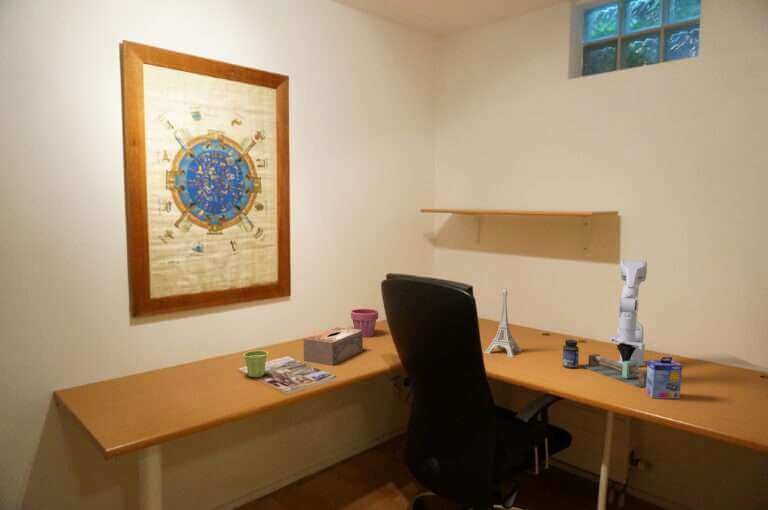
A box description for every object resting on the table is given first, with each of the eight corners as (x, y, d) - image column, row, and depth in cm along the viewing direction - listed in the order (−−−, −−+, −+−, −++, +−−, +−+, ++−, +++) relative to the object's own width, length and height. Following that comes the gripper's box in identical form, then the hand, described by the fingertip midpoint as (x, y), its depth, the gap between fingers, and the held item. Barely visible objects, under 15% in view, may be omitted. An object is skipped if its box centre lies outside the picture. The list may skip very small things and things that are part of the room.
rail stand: (581, 366, 213) (581, 354, 212) (598, 363, 217) (599, 351, 216) (640, 387, 187) (640, 373, 187) (658, 384, 192) (659, 370, 191)
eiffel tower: (513, 357, 226) (514, 290, 223) (484, 353, 233) (485, 288, 230) (521, 350, 237) (523, 286, 235) (494, 346, 244) (495, 284, 242)
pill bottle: (579, 369, 209) (580, 343, 208) (563, 368, 210) (564, 342, 209) (576, 365, 215) (577, 339, 214) (561, 364, 216) (562, 338, 215)
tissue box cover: (332, 366, 213) (331, 342, 212) (303, 361, 219) (303, 338, 219) (362, 351, 236) (362, 330, 235) (336, 347, 242) (336, 326, 241)
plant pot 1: (246, 380, 194) (246, 358, 193) (241, 373, 202) (241, 352, 201) (271, 377, 198) (270, 355, 197) (265, 370, 206) (264, 349, 206)
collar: (622, 376, 197) (622, 361, 196) (633, 374, 199) (633, 359, 199) (626, 378, 195) (627, 363, 194) (637, 376, 197) (638, 361, 197)
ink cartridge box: (652, 398, 177) (654, 357, 175) (644, 393, 182) (646, 353, 181) (681, 399, 176) (683, 358, 175) (672, 393, 182) (674, 353, 181)
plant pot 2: (382, 333, 269) (382, 309, 268) (371, 339, 256) (371, 314, 255) (358, 331, 274) (358, 307, 273) (346, 336, 262) (345, 312, 261)
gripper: (604, 325, 202) (603, 359, 203) (636, 333, 189) (634, 369, 190) (617, 324, 205) (615, 357, 206) (649, 332, 192) (647, 367, 193)
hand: (625, 363), depth 199 cm, fingers closed
